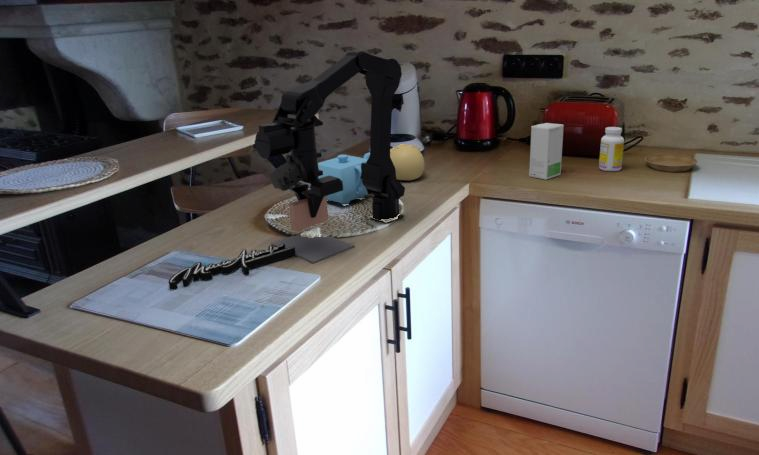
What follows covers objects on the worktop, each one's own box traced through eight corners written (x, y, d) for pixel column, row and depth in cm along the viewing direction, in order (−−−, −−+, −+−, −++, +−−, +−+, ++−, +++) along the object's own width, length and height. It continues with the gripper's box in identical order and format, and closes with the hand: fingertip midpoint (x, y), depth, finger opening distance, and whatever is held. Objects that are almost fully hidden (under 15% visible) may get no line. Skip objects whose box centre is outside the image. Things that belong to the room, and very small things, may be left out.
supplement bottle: (622, 167, 183) (626, 126, 178) (619, 172, 177) (624, 131, 173) (600, 165, 186) (603, 125, 181) (596, 171, 180) (600, 129, 176)
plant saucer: (645, 173, 177) (646, 164, 176) (641, 160, 190) (642, 152, 189) (700, 175, 172) (701, 166, 171) (692, 162, 185) (693, 154, 184)
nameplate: (175, 290, 113) (160, 273, 121) (176, 297, 114) (162, 279, 121) (300, 250, 127) (280, 238, 135) (301, 257, 128) (281, 244, 136)
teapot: (349, 211, 156) (346, 164, 152) (311, 200, 166) (307, 156, 162) (393, 193, 168) (392, 150, 164) (355, 184, 178) (353, 143, 174)
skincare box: (545, 180, 173) (549, 128, 168) (527, 176, 178) (529, 126, 172) (561, 174, 178) (565, 124, 173) (543, 170, 183) (546, 121, 178)
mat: (312, 230, 144) (311, 228, 144) (354, 246, 133) (354, 245, 133) (271, 245, 136) (271, 243, 136) (313, 263, 125) (313, 262, 125)
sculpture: (416, 171, 189) (415, 138, 186) (430, 180, 179) (429, 146, 175) (382, 175, 186) (381, 142, 182) (394, 185, 176) (393, 150, 172)
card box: (322, 218, 136) (320, 193, 134) (328, 220, 135) (326, 195, 133) (291, 229, 130) (288, 203, 128) (296, 231, 129) (294, 205, 127)
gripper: (248, 150, 128) (257, 217, 133) (299, 163, 115) (306, 236, 121) (290, 140, 135) (296, 204, 140) (342, 152, 122) (347, 221, 128)
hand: (310, 216), depth 132 cm, fingers closed on card box, 2 cm apart
